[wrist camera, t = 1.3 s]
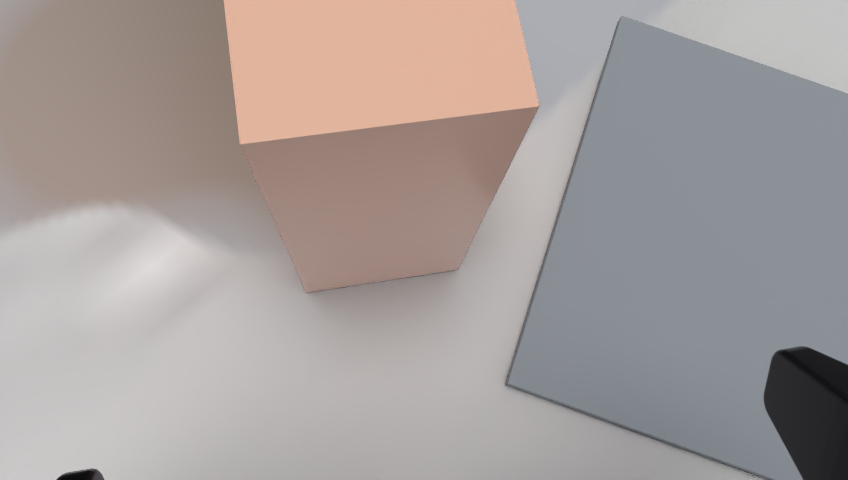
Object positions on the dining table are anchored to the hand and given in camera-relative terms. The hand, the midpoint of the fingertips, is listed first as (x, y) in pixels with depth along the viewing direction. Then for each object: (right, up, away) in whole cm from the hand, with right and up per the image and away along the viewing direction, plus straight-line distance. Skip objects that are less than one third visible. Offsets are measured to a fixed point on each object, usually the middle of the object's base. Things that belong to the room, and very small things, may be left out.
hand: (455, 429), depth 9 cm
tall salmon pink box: (-2, +4, +14) cm, 15 cm away
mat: (+11, +2, +15) cm, 19 cm away
